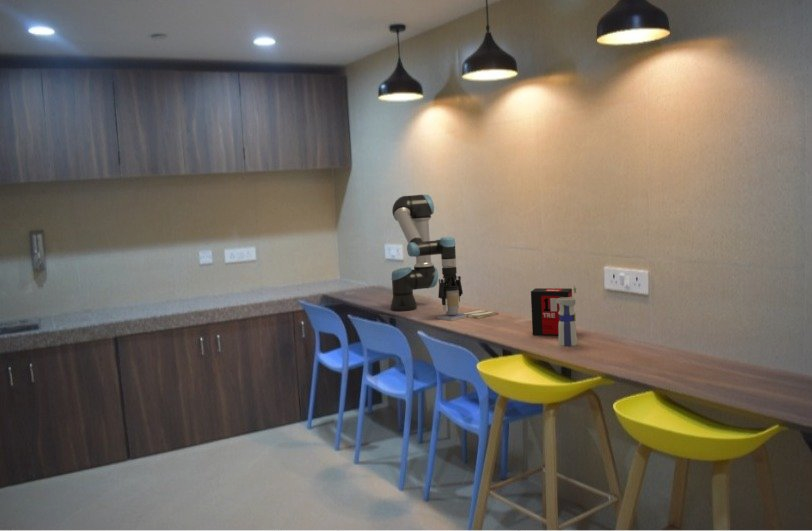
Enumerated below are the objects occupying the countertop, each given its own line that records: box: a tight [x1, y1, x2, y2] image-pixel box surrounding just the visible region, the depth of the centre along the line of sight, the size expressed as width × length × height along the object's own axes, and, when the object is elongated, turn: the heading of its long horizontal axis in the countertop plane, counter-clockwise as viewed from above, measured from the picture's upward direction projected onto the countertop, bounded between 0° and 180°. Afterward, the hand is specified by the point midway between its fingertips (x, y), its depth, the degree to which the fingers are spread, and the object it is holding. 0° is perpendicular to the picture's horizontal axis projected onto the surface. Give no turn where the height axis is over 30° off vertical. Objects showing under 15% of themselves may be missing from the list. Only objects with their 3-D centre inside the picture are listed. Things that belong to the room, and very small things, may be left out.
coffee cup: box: [444, 285, 460, 315], centre depth 362 cm, size 9×9×15 cm
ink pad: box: [436, 312, 468, 322], centre depth 363 cm, size 11×11×2 cm
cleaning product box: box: [530, 287, 573, 337], centre depth 311 cm, size 16×9×20 cm, turn 66°
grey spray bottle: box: [557, 285, 578, 347], centre depth 290 cm, size 8×8×25 cm
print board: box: [460, 309, 499, 320], centre depth 366 cm, size 15×15×1 cm
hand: (451, 309), depth 362 cm, fingers closed on coffee cup, 8 cm apart
